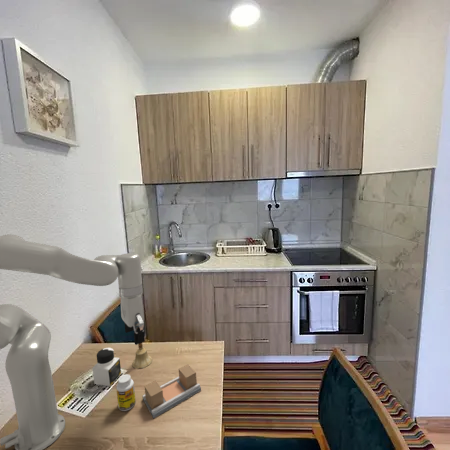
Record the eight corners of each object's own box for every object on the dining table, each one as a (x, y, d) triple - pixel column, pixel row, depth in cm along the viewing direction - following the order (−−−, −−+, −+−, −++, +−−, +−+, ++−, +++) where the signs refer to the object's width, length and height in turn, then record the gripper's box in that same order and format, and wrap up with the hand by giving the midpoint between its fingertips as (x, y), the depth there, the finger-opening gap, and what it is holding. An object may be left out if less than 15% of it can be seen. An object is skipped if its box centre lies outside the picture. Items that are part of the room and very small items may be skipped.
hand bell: (128, 367, 108) (124, 332, 105) (139, 355, 116) (135, 321, 113) (145, 370, 106) (142, 333, 103) (155, 357, 114) (152, 323, 111)
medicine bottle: (110, 386, 97) (107, 357, 96) (94, 384, 99) (90, 356, 97) (121, 373, 104) (118, 346, 103) (106, 371, 106) (102, 344, 104)
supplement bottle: (117, 414, 85) (114, 386, 84) (119, 401, 90) (116, 374, 89) (135, 409, 86) (132, 382, 85) (136, 397, 92) (133, 370, 90)
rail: (153, 418, 83) (151, 401, 82) (142, 399, 91) (141, 383, 90) (201, 390, 93) (200, 374, 93) (187, 375, 101) (186, 361, 100)
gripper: (112, 285, 92) (116, 330, 94) (128, 300, 79) (132, 352, 81) (133, 280, 97) (136, 323, 99) (151, 294, 83) (155, 343, 85)
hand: (134, 336), depth 90 cm, fingers open, 9 cm apart
